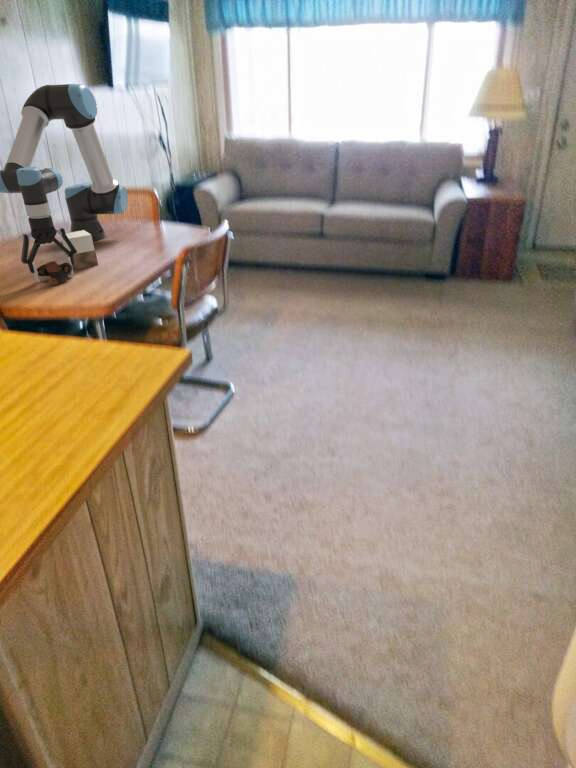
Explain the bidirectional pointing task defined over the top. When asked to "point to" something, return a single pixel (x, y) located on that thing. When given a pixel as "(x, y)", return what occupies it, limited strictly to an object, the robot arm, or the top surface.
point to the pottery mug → (55, 271)
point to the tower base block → (84, 259)
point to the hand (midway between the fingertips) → (55, 277)
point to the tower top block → (79, 241)
